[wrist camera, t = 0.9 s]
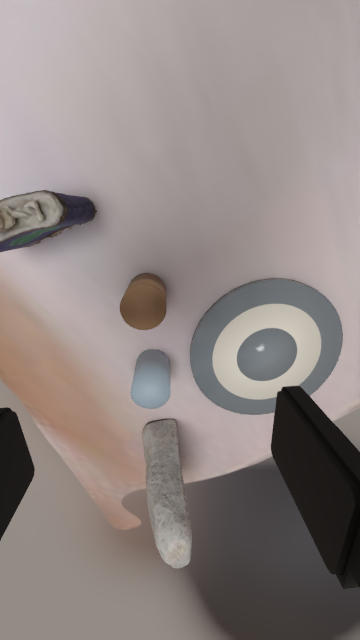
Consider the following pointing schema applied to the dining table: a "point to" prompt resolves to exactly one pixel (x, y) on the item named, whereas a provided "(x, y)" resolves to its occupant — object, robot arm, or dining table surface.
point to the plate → (265, 344)
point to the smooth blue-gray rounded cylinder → (151, 379)
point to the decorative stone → (167, 493)
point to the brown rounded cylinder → (144, 302)
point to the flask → (40, 217)
